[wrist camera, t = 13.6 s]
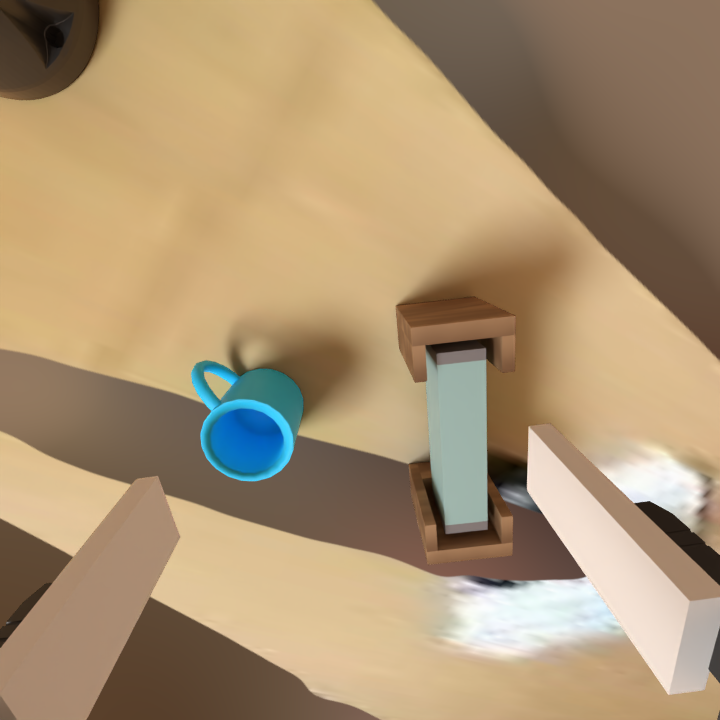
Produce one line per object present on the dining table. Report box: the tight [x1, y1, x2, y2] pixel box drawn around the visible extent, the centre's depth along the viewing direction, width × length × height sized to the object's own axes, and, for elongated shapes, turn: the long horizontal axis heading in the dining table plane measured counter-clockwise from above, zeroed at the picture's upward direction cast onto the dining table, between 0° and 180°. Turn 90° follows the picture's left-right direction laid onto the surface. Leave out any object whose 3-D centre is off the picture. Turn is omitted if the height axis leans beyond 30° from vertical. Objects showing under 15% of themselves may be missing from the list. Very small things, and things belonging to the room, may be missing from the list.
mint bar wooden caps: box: [396, 297, 516, 565], centre depth 38 cm, size 23×8×10 cm, turn 6°
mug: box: [191, 361, 303, 481], centre depth 37 cm, size 12×8×8 cm
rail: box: [425, 340, 488, 534], centre depth 37 cm, size 18×4×6 cm, turn 6°
